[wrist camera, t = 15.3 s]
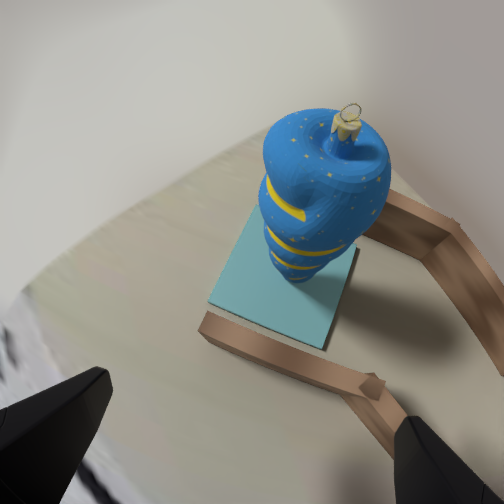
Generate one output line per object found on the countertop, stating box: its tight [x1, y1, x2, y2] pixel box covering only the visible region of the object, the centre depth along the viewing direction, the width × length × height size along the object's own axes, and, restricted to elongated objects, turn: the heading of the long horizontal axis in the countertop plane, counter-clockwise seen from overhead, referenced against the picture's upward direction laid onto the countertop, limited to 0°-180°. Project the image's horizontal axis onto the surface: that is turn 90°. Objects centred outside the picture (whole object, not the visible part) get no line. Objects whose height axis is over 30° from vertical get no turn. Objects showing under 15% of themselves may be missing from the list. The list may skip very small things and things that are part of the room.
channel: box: [198, 189, 504, 460], centre depth 18 cm, size 25×26×5 cm
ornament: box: [258, 103, 391, 283], centre depth 15 cm, size 5×5×15 cm
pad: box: [208, 204, 357, 349], centre depth 22 cm, size 8×8×1 cm
